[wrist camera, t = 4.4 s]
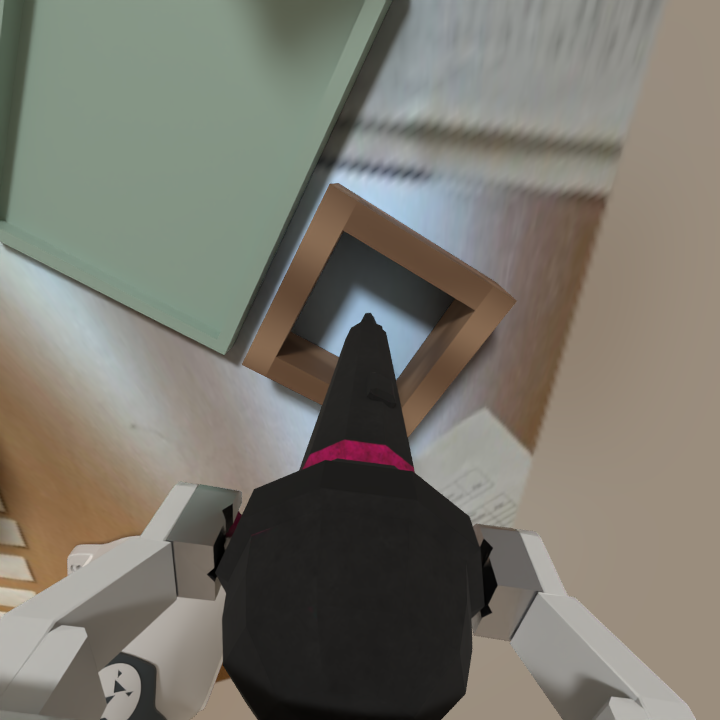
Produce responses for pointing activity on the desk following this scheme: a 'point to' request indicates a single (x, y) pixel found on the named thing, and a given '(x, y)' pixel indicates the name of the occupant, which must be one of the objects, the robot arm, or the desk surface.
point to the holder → (412, 251)
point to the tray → (169, 141)
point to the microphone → (352, 568)
